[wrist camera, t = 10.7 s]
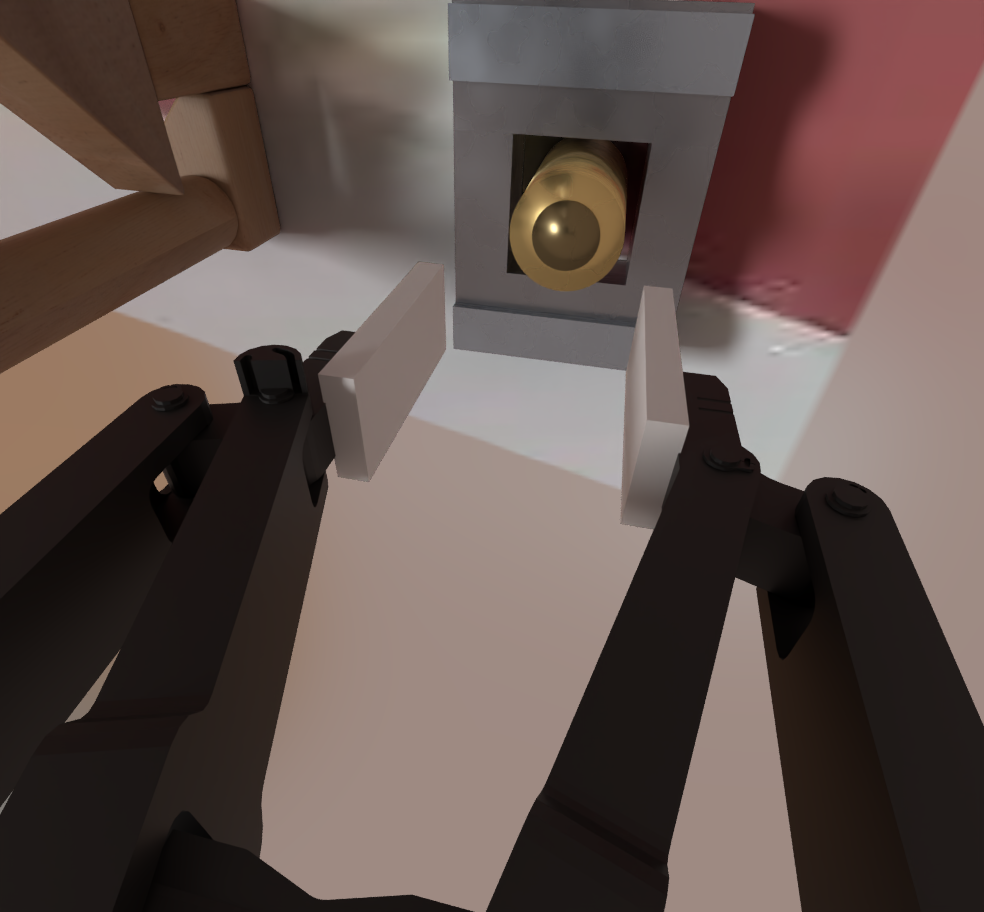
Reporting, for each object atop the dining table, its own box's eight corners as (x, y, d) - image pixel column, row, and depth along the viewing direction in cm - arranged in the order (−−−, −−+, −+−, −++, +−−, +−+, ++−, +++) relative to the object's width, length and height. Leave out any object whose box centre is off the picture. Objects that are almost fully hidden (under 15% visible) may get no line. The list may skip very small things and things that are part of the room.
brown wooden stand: (237, -9, 25) (-245, -38, 11) (284, 233, 32) (18, 397, 18) (165, -12, 26) (-379, -44, 12) (227, 227, 32) (-75, 381, 19)
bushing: (540, 131, 26) (509, 171, 20) (634, 134, 25) (633, 177, 19) (535, 227, 29) (507, 288, 23) (620, 232, 28) (615, 297, 22)
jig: (473, -5, 24) (447, -8, 20) (740, 4, 22) (757, 2, 19) (471, 321, 33) (453, 353, 30) (658, 343, 31) (660, 380, 28)
